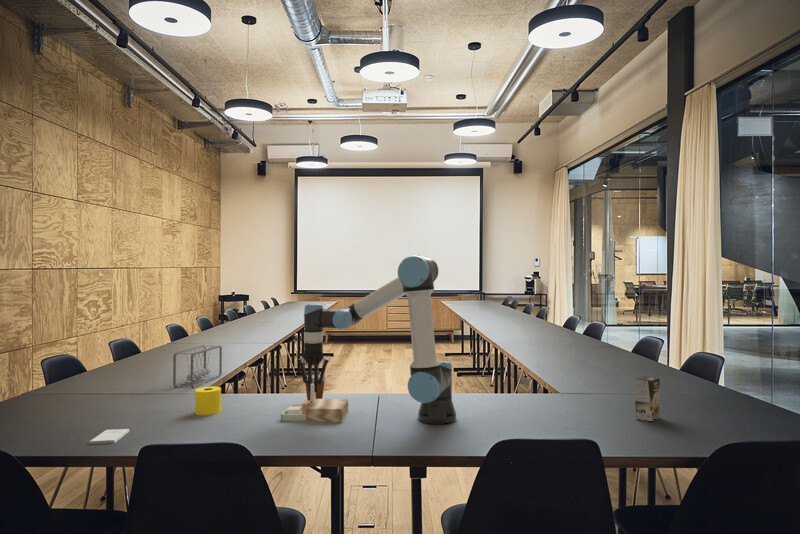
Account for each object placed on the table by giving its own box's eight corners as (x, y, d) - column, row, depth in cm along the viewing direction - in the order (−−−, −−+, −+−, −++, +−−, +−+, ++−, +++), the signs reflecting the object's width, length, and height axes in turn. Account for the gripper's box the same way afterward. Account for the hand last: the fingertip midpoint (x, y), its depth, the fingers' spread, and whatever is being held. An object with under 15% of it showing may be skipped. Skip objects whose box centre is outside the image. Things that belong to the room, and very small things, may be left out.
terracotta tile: (311, 400, 203) (304, 400, 203) (308, 403, 198) (301, 403, 198) (310, 412, 203) (304, 412, 203) (308, 416, 198) (301, 416, 198)
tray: (314, 410, 208) (314, 404, 208) (305, 421, 193) (305, 414, 193) (291, 410, 208) (291, 404, 208) (280, 420, 193) (280, 414, 193)
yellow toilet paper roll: (225, 411, 206) (225, 389, 206) (201, 416, 199) (202, 393, 199) (213, 407, 213) (214, 385, 213) (190, 412, 205) (191, 389, 206)
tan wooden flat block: (348, 411, 207) (348, 399, 207) (341, 422, 192) (341, 409, 192) (315, 410, 208) (315, 398, 208) (306, 421, 193) (306, 408, 193)
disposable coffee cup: (321, 406, 215) (321, 378, 215) (300, 405, 217) (300, 377, 217) (328, 400, 224) (328, 374, 224) (308, 399, 226) (308, 373, 226)
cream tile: (289, 406, 203) (289, 412, 203) (286, 409, 198) (286, 415, 198) (301, 406, 203) (301, 412, 203) (299, 409, 198) (299, 415, 198)
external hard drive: (88, 446, 167) (105, 433, 179) (114, 444, 168) (129, 432, 180) (88, 441, 167) (105, 429, 179) (114, 440, 168) (129, 428, 180)
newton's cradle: (192, 389, 246) (192, 353, 246) (172, 388, 248) (172, 352, 248) (221, 376, 276) (222, 344, 276) (204, 376, 277) (204, 344, 278)
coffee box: (651, 422, 192) (651, 381, 192) (634, 419, 197) (634, 378, 197) (660, 417, 198) (659, 377, 199) (643, 414, 203) (643, 375, 203)
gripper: (331, 340, 204) (330, 398, 204) (300, 340, 205) (299, 397, 204) (327, 343, 196) (327, 403, 196) (295, 343, 197) (294, 402, 197)
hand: (313, 400), depth 200 cm, fingers closed
